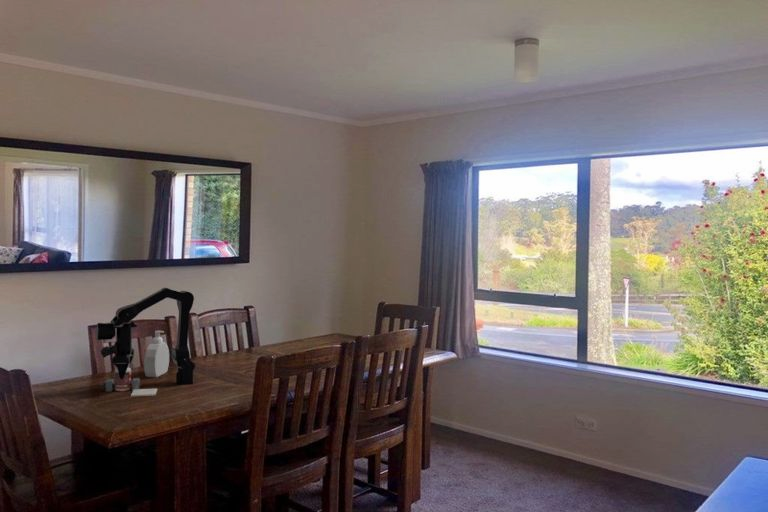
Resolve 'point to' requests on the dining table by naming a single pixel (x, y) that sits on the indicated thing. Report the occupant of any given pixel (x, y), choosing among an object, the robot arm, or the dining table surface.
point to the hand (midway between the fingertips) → (123, 376)
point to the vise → (111, 385)
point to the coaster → (144, 392)
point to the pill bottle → (123, 380)
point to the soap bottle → (156, 357)
